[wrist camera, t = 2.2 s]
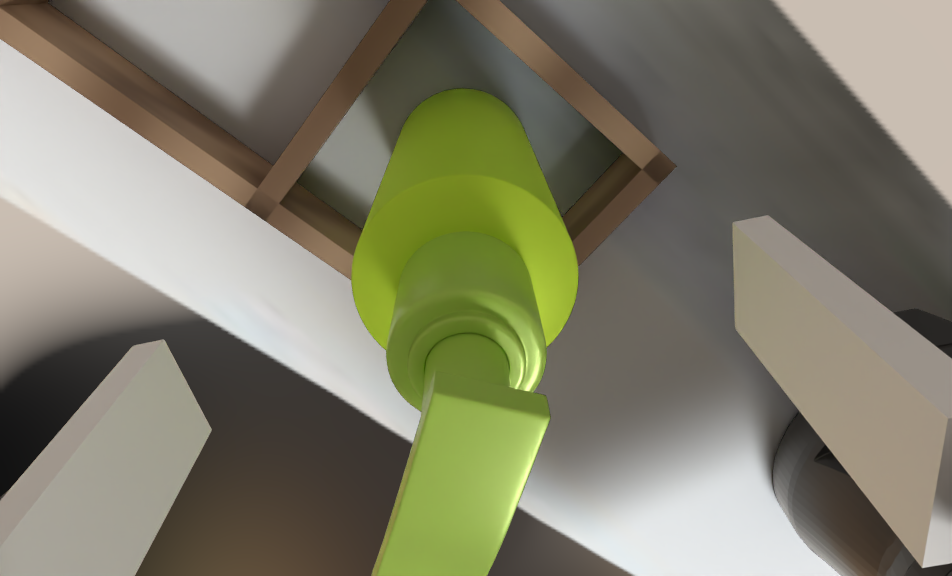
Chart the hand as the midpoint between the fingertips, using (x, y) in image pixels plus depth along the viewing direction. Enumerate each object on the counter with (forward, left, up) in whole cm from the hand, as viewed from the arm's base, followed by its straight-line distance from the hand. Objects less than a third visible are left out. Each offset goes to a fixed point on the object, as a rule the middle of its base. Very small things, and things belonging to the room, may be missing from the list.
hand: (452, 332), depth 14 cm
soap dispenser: (0, 0, -15) cm, 15 cm away
